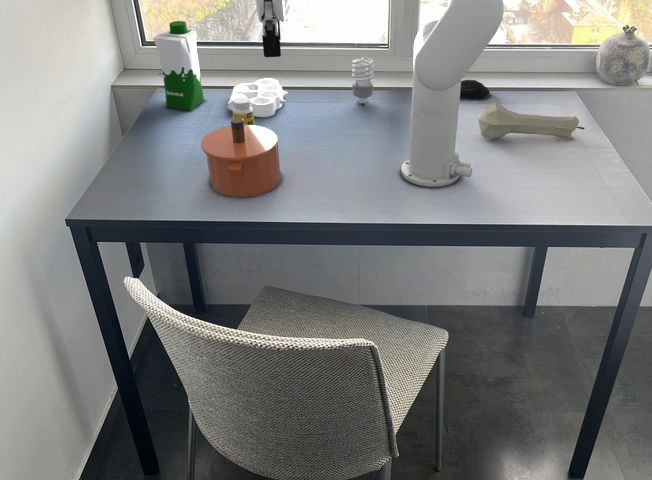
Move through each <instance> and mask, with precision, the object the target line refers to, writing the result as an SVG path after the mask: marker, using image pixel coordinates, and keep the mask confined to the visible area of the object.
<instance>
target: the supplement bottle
mask: <svg viewBox="0 0 652 480" xmlns="http://www.w3.org/2000/svg"><path fill="white" fill-rule="evenodd" d="M233 104H234V108H233V111H232V117H233V118H242V119H243V120H244V125H255V118H254V117H255V116H253V108H252V107H251V100H250V99H249V98H247V97H239V98H236V99H234V100H233ZM233 118H232V119H233Z"/></svg>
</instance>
